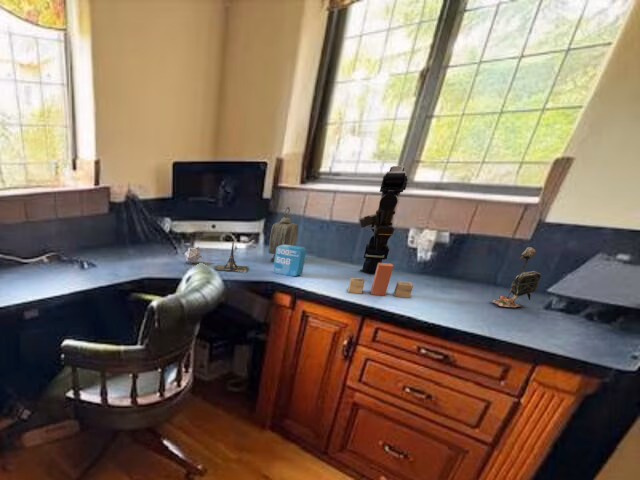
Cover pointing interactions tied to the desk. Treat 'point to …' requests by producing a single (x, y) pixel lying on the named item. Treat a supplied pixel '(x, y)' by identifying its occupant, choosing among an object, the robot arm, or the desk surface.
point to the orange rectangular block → (381, 278)
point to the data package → (289, 260)
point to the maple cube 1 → (356, 285)
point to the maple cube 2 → (403, 289)
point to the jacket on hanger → (282, 234)
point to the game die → (192, 255)
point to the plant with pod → (521, 283)
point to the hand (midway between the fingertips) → (376, 249)
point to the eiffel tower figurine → (231, 264)
